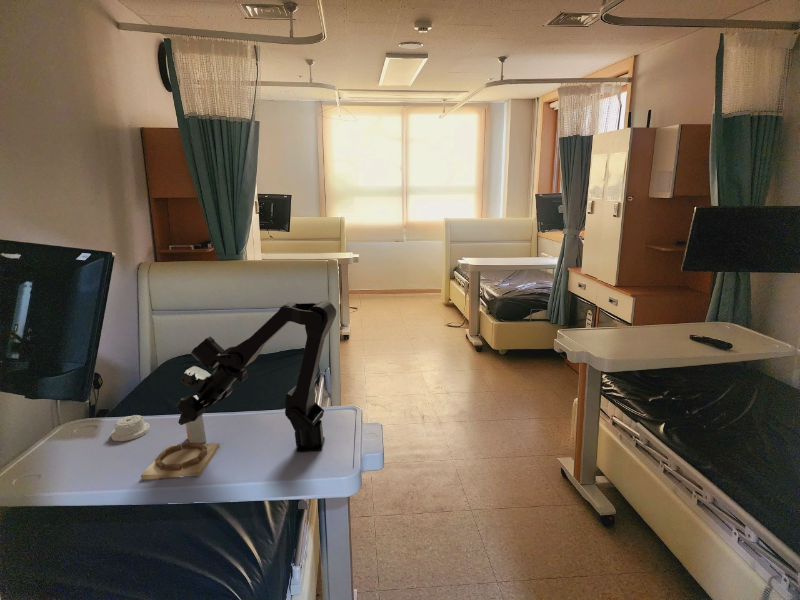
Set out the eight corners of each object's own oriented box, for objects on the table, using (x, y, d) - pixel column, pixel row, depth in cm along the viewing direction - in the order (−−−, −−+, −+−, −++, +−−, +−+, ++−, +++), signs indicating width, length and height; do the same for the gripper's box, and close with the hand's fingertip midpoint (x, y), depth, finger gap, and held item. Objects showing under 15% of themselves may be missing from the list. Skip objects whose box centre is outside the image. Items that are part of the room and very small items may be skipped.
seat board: (219, 447, 133) (218, 439, 133) (199, 476, 120) (198, 467, 119) (167, 450, 133) (166, 442, 133) (141, 479, 119) (140, 470, 119)
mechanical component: (103, 441, 141) (133, 443, 139) (100, 427, 140) (131, 428, 138) (128, 425, 151) (157, 426, 148) (126, 412, 150) (155, 413, 148)
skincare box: (187, 438, 140) (180, 398, 137) (203, 433, 142) (197, 394, 139) (190, 446, 134) (183, 405, 132) (206, 442, 137) (200, 401, 134)
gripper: (218, 347, 141) (189, 383, 146) (177, 371, 123) (145, 410, 128) (246, 374, 141) (216, 409, 146) (210, 401, 123) (177, 440, 128)
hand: (190, 416), depth 137 cm, fingers open, 9 cm apart
